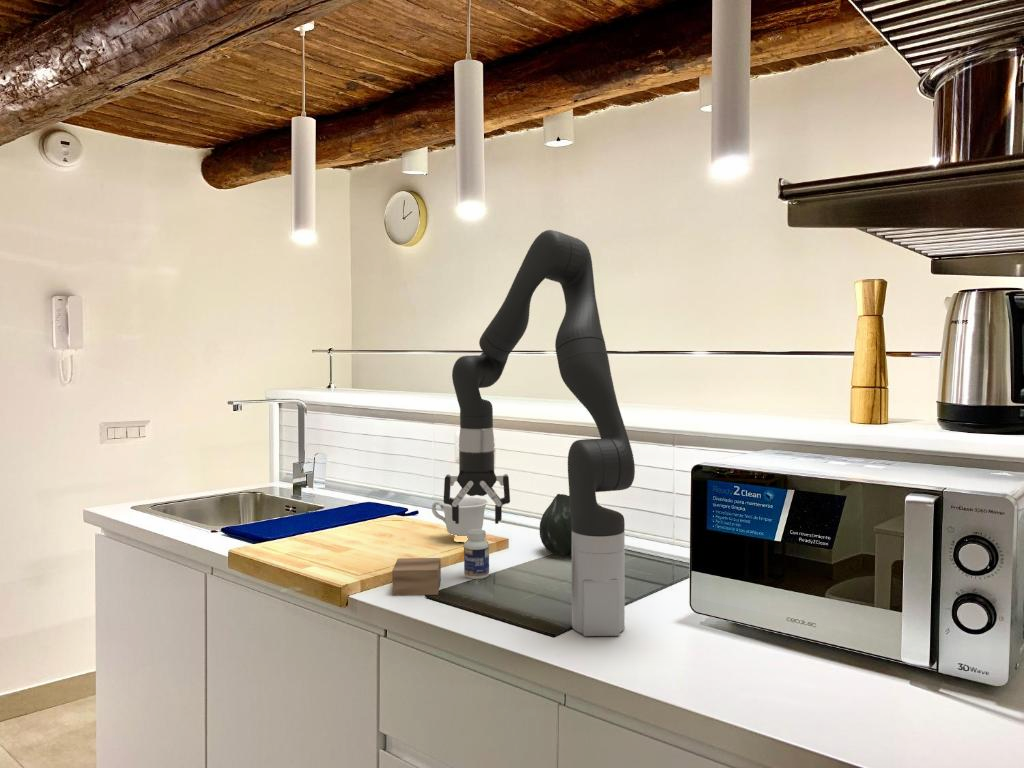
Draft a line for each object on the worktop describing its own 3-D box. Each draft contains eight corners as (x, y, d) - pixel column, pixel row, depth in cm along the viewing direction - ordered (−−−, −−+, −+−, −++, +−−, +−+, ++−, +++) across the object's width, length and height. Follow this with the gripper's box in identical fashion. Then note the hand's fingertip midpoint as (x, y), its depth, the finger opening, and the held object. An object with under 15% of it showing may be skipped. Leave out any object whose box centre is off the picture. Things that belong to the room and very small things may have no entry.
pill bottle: (461, 578, 167) (460, 533, 167) (468, 571, 172) (467, 528, 172) (485, 580, 166) (485, 535, 165) (492, 573, 171) (491, 529, 171)
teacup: (441, 532, 209) (441, 495, 208) (494, 536, 204) (494, 498, 204) (422, 543, 197) (422, 504, 197) (478, 548, 193) (478, 507, 192)
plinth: (437, 594, 156) (437, 570, 156) (392, 595, 156) (392, 570, 156) (440, 581, 165) (440, 557, 165) (398, 581, 165) (397, 558, 165)
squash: (622, 530, 187) (586, 479, 192) (587, 545, 175) (549, 491, 181) (586, 561, 194) (552, 512, 200) (550, 578, 183) (515, 524, 188)
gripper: (442, 451, 164) (442, 527, 165) (510, 450, 164) (510, 527, 165) (444, 446, 172) (445, 519, 173) (509, 445, 172) (509, 518, 173)
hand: (477, 523), depth 169 cm, fingers open, 8 cm apart
